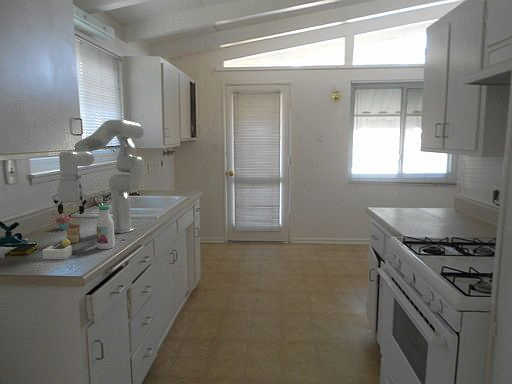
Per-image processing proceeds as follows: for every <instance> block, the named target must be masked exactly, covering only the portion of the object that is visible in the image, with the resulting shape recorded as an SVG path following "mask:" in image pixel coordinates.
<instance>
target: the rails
mask: <svg viewBox="0 0 512 384" xmlns="http://www.w3.org/2000/svg"><path fill="white" fill-rule="evenodd" d="M61 245H62V244H59V245H57V246H55V247H53V249H56V248H58V247H60V246H61ZM77 246H79V244H76V245H74V246H73V247H72V249H74V248H76V247H77Z"/></svg>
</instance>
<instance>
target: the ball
mask: <svg viewBox="0 0 512 384" xmlns="http://www.w3.org/2000/svg"><path fill="white" fill-rule="evenodd" d="M61 241H62V246H64V247H68V246H70V241H69V240H68V239H67V238H65V239H63V240H61Z"/></svg>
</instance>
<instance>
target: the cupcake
mask: <svg viewBox="0 0 512 384" xmlns="http://www.w3.org/2000/svg"><path fill="white" fill-rule="evenodd" d="M55 223H56V224H57V225H58V227H59V229H60V230H67V229H66V226H68V225H70V224H72V223H73V218H72V217H70V216H65V215H64V212H63V213H62V214H61V216H59V217H58V218H56V220H55Z"/></svg>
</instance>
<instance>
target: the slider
mask: <svg viewBox="0 0 512 384" xmlns="http://www.w3.org/2000/svg"><path fill="white" fill-rule="evenodd" d="M80 226H81V225H80V224H79V223H77V224H76V223H75V224H74V223H73V224H72V223H71V224H70V225H68V226H66V229H65V230H66V239H68V240H69V241H70V243H78V242H79V241H82V239H81V238H82V237H81V227H80Z"/></svg>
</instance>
